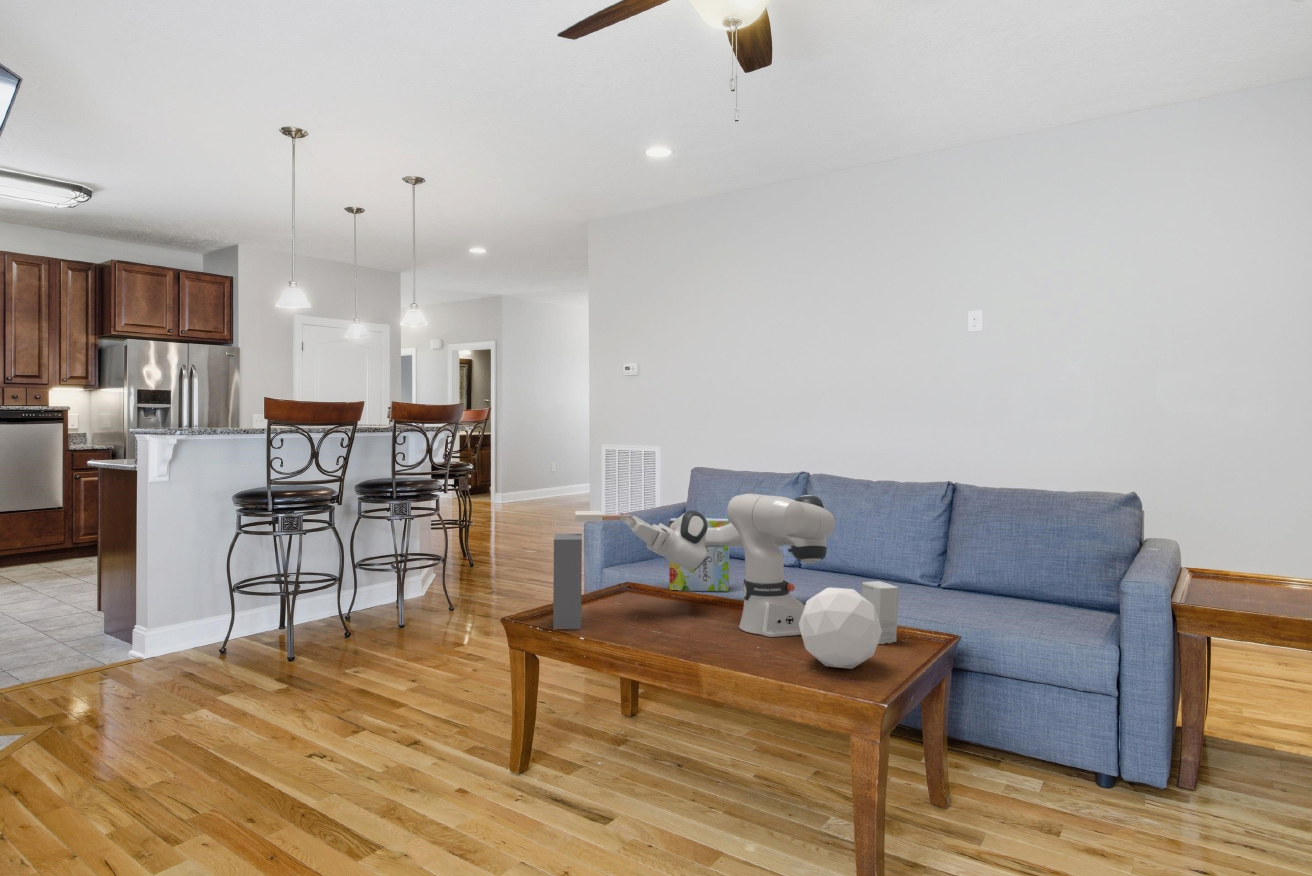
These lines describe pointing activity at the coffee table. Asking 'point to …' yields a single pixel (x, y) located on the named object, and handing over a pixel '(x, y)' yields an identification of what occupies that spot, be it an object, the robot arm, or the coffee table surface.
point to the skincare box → (883, 607)
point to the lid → (595, 516)
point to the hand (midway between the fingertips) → (619, 515)
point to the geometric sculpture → (840, 628)
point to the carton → (567, 581)
